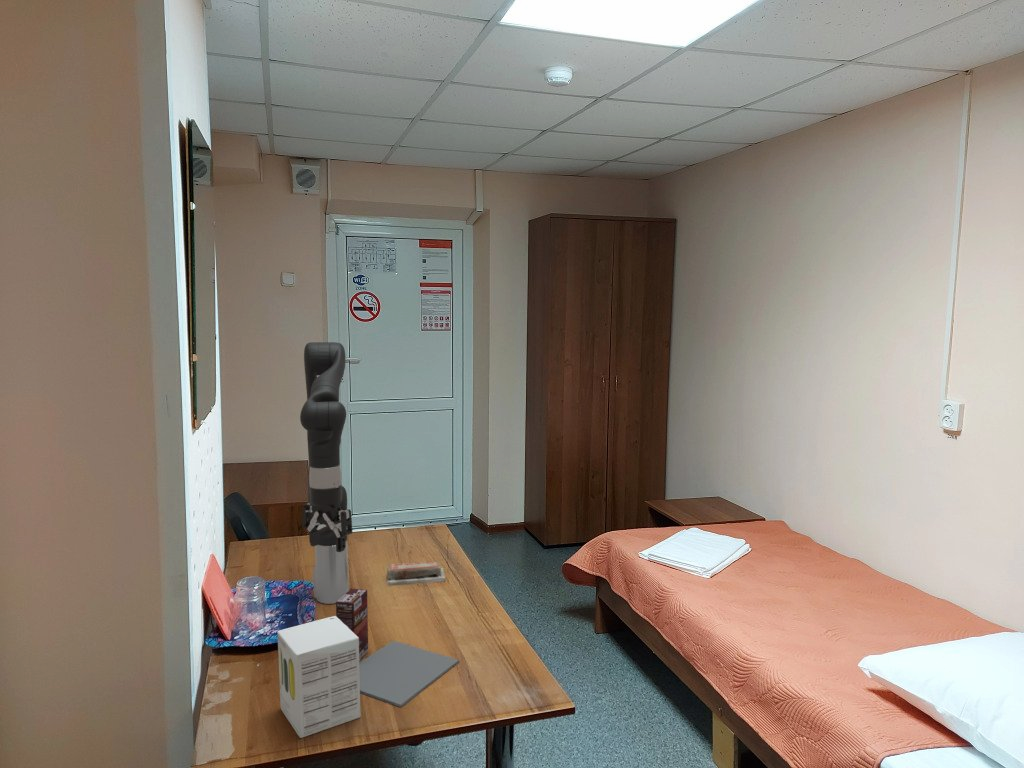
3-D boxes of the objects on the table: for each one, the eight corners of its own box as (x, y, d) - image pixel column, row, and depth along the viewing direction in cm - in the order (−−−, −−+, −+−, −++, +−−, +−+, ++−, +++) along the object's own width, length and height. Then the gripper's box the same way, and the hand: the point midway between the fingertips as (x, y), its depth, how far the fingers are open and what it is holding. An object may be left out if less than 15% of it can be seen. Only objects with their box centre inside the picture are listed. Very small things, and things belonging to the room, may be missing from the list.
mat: (331, 682, 159) (331, 680, 159) (393, 642, 178) (393, 640, 178) (400, 707, 149) (400, 704, 149) (459, 662, 168) (459, 659, 168)
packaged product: (386, 572, 214) (386, 560, 224) (387, 587, 215) (387, 575, 225) (445, 568, 217) (443, 557, 227) (445, 583, 218) (443, 571, 228)
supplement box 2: (355, 668, 166) (353, 603, 164) (336, 666, 167) (334, 601, 165) (369, 650, 174) (368, 589, 172) (351, 648, 175) (349, 587, 173)
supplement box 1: (278, 708, 149) (275, 630, 147) (338, 689, 157) (336, 614, 155) (299, 739, 138) (296, 655, 136) (362, 717, 146) (360, 637, 144)
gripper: (292, 483, 170) (295, 548, 172) (336, 490, 163) (338, 558, 165) (315, 476, 177) (317, 539, 178) (358, 483, 170) (360, 548, 171)
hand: (327, 548), depth 172 cm, fingers open, 8 cm apart
